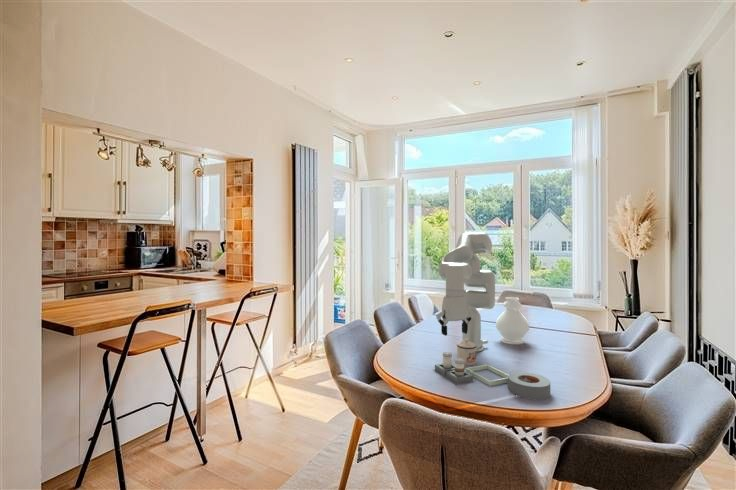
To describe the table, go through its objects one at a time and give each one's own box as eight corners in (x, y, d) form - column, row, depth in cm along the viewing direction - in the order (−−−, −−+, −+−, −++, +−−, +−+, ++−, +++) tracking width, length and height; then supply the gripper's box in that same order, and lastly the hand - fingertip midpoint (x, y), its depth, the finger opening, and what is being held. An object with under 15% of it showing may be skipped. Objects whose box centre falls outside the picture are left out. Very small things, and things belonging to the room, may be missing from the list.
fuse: (448, 369, 162) (448, 351, 162) (453, 372, 159) (453, 354, 158) (440, 370, 161) (440, 352, 161) (445, 373, 157) (446, 355, 157)
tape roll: (518, 380, 152) (518, 368, 152) (556, 391, 141) (556, 378, 141) (500, 391, 141) (500, 378, 141) (540, 404, 130) (541, 390, 130)
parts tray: (487, 369, 163) (487, 364, 163) (513, 383, 149) (513, 377, 149) (465, 373, 159) (465, 367, 159) (490, 387, 144) (490, 381, 144)
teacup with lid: (468, 368, 166) (469, 342, 165) (452, 362, 173) (452, 338, 172) (483, 362, 173) (483, 338, 173) (467, 357, 180) (467, 334, 180)
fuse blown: (460, 376, 154) (460, 357, 154) (466, 379, 150) (466, 360, 150) (452, 377, 152) (452, 359, 152) (458, 381, 149) (458, 362, 148)
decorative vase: (513, 335, 219) (513, 294, 218) (536, 343, 202) (536, 299, 201) (489, 338, 212) (489, 296, 212) (511, 347, 196) (511, 301, 195)
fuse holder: (432, 371, 162) (432, 364, 162) (450, 368, 166) (450, 361, 166) (455, 386, 145) (455, 379, 145) (476, 382, 149) (476, 375, 149)
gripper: (467, 291, 158) (467, 330, 159) (432, 293, 153) (432, 333, 153) (477, 293, 151) (477, 334, 151) (441, 295, 146) (440, 337, 146)
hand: (454, 333), depth 152 cm, fingers open, 9 cm apart
